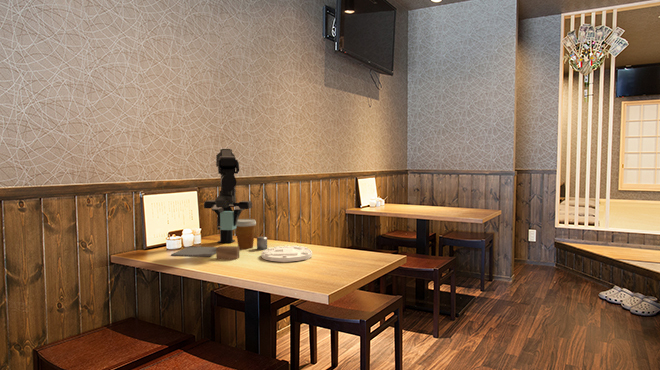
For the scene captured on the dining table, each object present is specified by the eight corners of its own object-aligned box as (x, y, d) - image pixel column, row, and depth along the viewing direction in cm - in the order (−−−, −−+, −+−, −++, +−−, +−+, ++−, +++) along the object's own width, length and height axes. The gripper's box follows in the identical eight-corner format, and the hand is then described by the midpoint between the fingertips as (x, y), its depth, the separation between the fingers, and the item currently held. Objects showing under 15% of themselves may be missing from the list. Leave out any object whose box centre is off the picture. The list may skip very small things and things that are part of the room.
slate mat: (189, 247, 186) (189, 246, 186) (224, 248, 184) (224, 247, 184) (171, 255, 170) (171, 254, 170) (209, 257, 168) (209, 255, 168)
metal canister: (258, 247, 186) (258, 236, 186) (268, 248, 186) (268, 236, 186) (255, 249, 182) (255, 238, 182) (265, 250, 181) (265, 238, 181)
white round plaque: (252, 261, 163) (252, 254, 163) (274, 251, 182) (274, 244, 181) (301, 265, 157) (301, 257, 157) (318, 253, 176) (318, 246, 176)
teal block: (224, 227, 178) (224, 211, 177) (236, 228, 177) (236, 211, 177) (220, 229, 173) (220, 212, 172) (232, 230, 172) (232, 212, 172)
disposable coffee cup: (232, 246, 189) (232, 219, 189) (253, 244, 193) (253, 218, 193) (237, 250, 181) (236, 222, 180) (259, 248, 185) (259, 221, 184)
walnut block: (219, 257, 168) (219, 246, 168) (239, 257, 168) (239, 246, 167) (216, 259, 165) (216, 247, 164) (236, 259, 164) (236, 248, 164)
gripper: (197, 188, 167) (198, 228, 168) (244, 189, 165) (244, 229, 166) (208, 186, 178) (209, 224, 179) (252, 187, 176) (252, 225, 177)
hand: (228, 225), depth 175 cm, fingers closed on teal block, 5 cm apart
